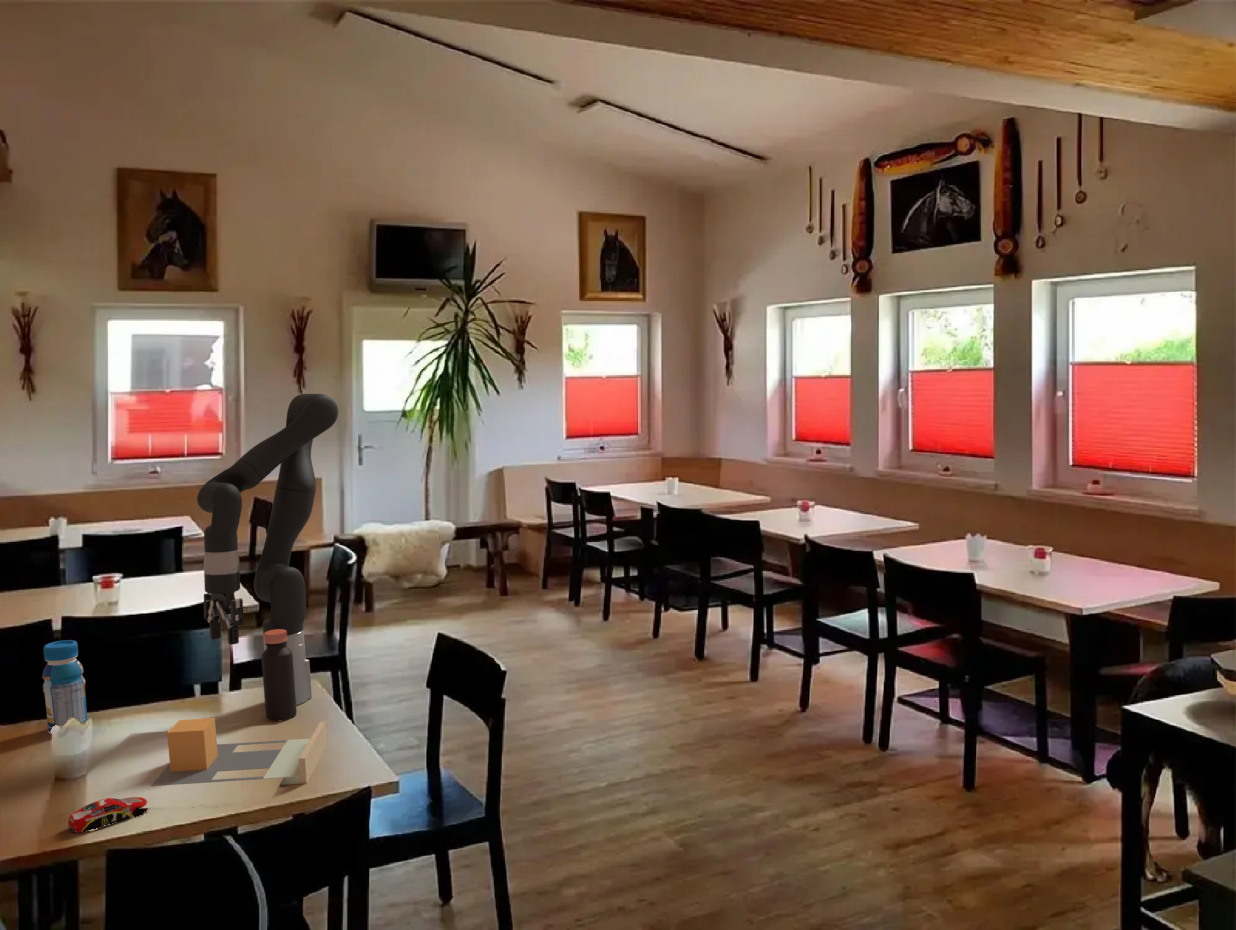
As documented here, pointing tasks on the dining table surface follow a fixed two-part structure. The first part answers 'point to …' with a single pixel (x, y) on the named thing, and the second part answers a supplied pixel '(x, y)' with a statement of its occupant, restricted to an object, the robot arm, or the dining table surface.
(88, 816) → the race car
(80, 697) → the beverage bottle
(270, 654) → the vinegar
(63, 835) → the dining table surface
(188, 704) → the dining table surface
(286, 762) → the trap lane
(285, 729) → the dining table surface
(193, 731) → the orange block
